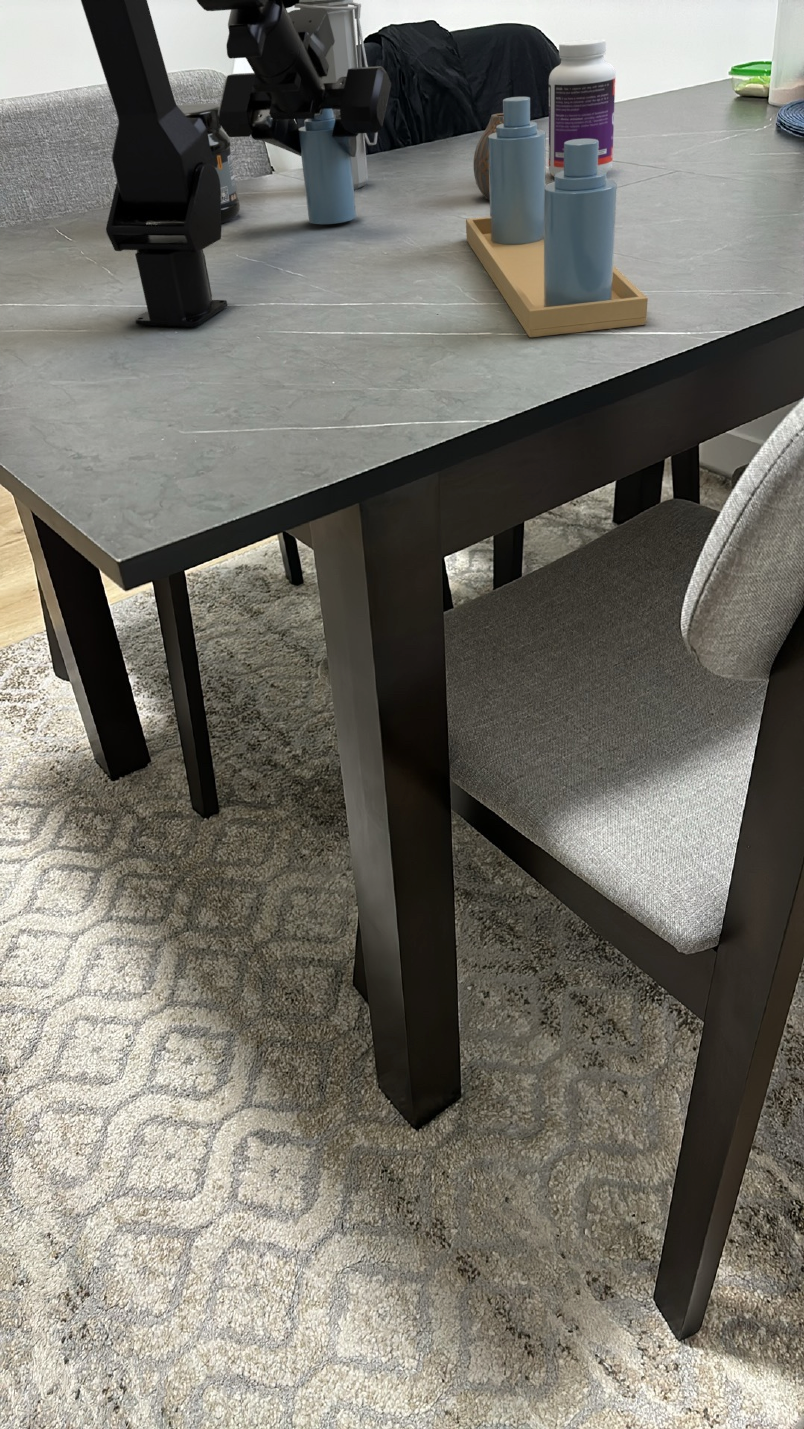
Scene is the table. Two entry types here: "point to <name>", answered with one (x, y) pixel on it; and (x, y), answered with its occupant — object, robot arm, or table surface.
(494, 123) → the vase
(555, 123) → the pill bottle
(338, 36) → the water bottle
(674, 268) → the table surface
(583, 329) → the tray
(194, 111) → the supplement container
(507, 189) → the bottle
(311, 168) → the loose bottle
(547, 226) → the bottle
